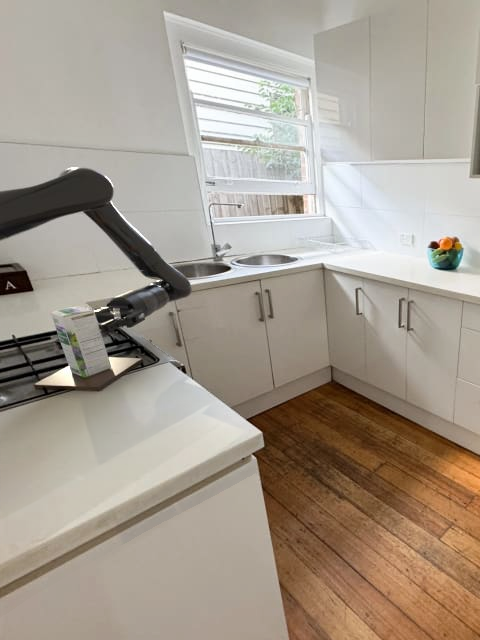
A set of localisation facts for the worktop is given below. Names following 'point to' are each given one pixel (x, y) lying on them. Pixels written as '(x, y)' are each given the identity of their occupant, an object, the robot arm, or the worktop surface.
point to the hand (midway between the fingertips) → (83, 329)
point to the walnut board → (93, 382)
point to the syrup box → (81, 340)
